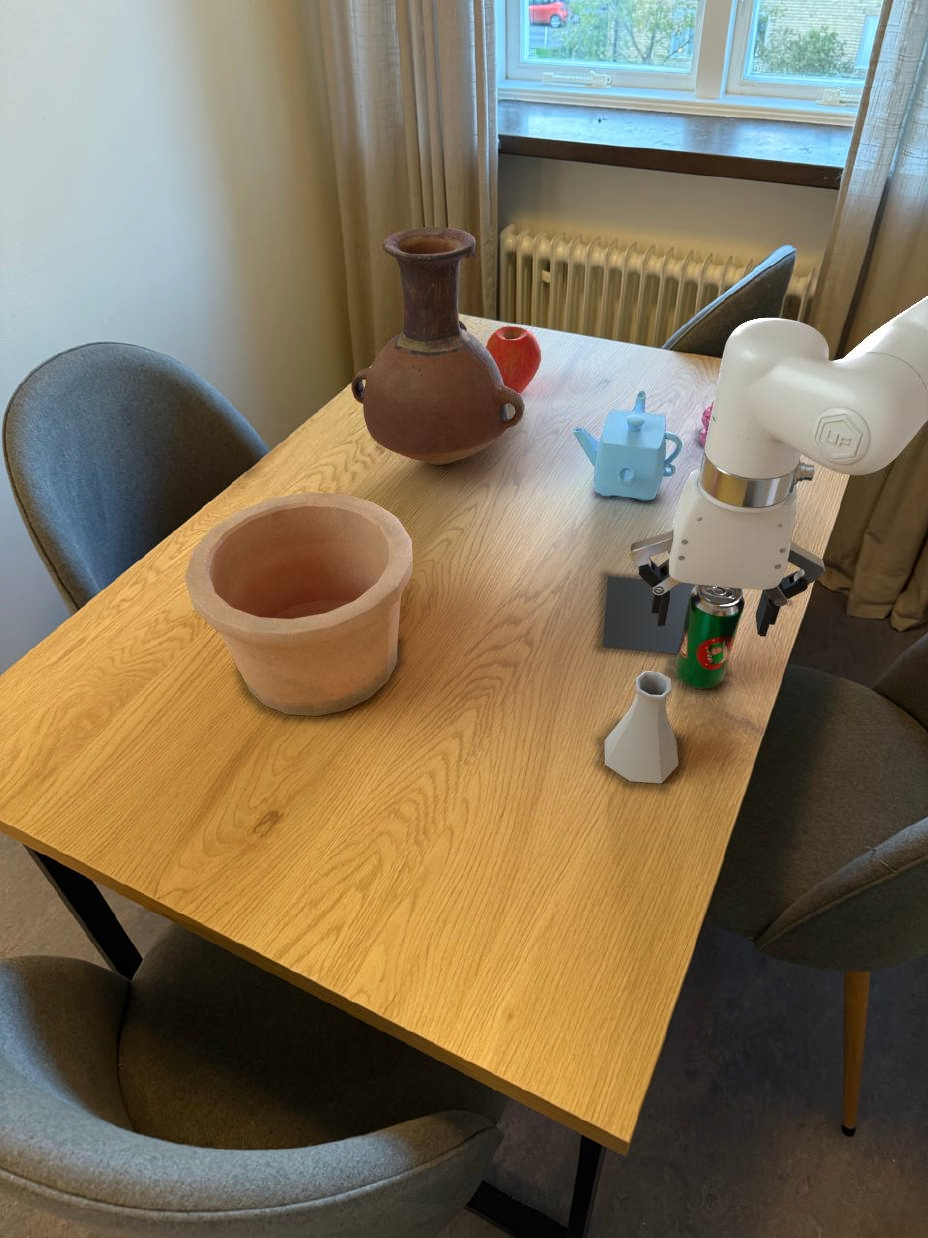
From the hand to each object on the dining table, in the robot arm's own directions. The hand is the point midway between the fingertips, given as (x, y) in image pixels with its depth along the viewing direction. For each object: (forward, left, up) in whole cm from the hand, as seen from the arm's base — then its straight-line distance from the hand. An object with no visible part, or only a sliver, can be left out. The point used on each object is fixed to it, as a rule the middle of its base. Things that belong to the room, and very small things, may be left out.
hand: (709, 621), depth 82 cm
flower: (-6, -48, -8) cm, 49 cm away
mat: (+4, -9, -8) cm, 13 cm away
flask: (+6, +11, -8) cm, 15 cm away
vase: (+35, -38, -8) cm, 52 cm away
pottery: (+40, +3, -8) cm, 41 cm away
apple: (+27, -58, -8) cm, 64 cm away
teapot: (+9, -35, -8) cm, 37 cm away
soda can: (0, 0, -8) cm, 8 cm away
